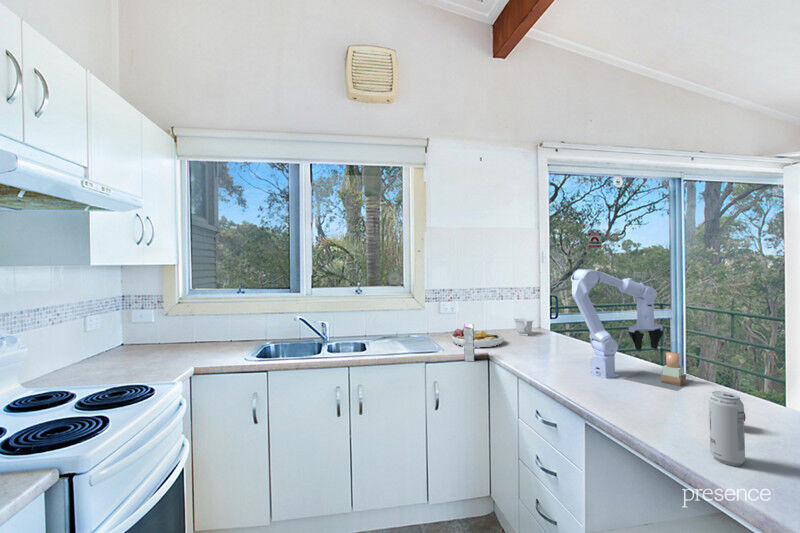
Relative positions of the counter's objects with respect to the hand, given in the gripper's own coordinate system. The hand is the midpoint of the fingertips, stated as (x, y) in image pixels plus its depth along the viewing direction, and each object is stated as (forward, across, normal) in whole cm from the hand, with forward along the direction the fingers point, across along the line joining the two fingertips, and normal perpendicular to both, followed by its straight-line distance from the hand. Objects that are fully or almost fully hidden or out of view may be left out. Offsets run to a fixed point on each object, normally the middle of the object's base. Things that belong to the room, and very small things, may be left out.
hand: (646, 348), depth 151 cm
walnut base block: (+10, -1, -12) cm, 16 cm away
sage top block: (+7, -1, -12) cm, 14 cm away
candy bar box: (+11, -58, +46) cm, 74 cm away
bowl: (+11, -39, +78) cm, 88 cm away
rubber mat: (+10, -3, -8) cm, 13 cm away
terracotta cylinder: (+4, -1, -12) cm, 13 cm away
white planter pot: (+11, -1, +90) cm, 91 cm away
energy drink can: (+11, -38, -59) cm, 71 cm away
